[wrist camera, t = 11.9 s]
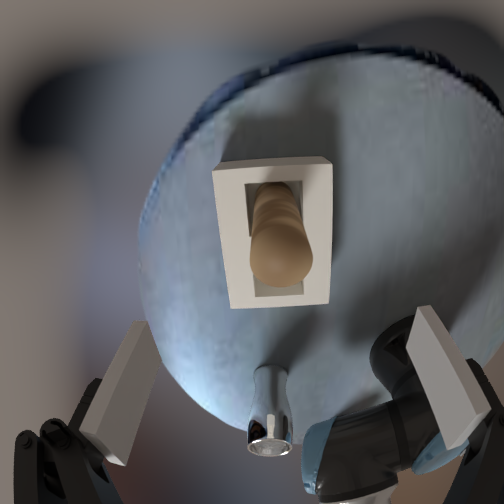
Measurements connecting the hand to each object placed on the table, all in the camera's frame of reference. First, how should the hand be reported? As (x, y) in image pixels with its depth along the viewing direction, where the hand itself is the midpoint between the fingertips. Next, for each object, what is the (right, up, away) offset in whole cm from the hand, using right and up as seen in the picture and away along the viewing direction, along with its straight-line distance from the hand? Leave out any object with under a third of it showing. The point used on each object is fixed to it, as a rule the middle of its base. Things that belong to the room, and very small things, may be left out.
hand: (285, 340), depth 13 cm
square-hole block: (+1, +7, +24) cm, 25 cm away
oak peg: (+1, +10, +20) cm, 23 cm away
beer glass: (+2, -18, +36) cm, 40 cm away
